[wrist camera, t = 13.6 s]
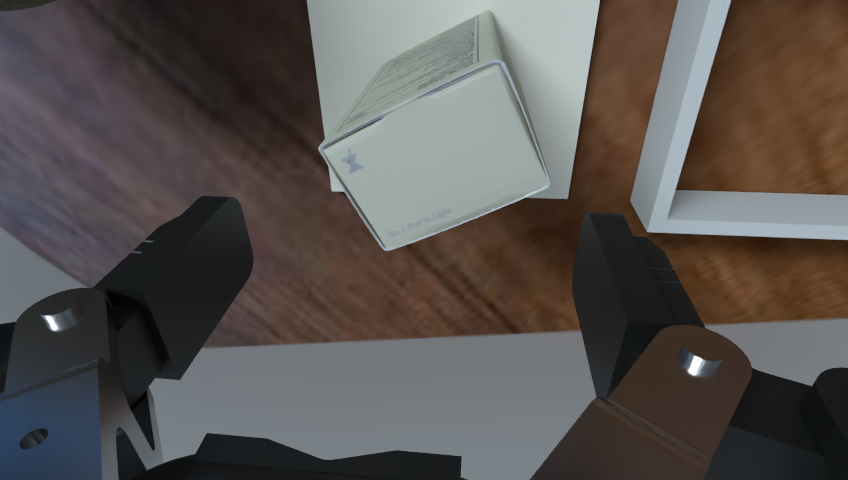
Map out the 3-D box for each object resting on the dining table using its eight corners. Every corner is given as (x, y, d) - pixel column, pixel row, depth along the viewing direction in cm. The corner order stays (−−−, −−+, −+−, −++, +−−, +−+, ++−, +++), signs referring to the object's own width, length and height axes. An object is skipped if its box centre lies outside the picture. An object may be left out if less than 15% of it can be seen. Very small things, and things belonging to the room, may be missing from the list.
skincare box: (418, 135, 27) (379, 259, 17) (379, 60, 25) (308, 149, 15) (526, 85, 25) (557, 193, 15) (493, -1, 23) (501, 55, 13)
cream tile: (299, -87, 22) (295, -88, 22) (612, -94, 21) (615, -95, 21) (334, 186, 30) (331, 191, 29) (566, 194, 29) (567, 198, 28)
